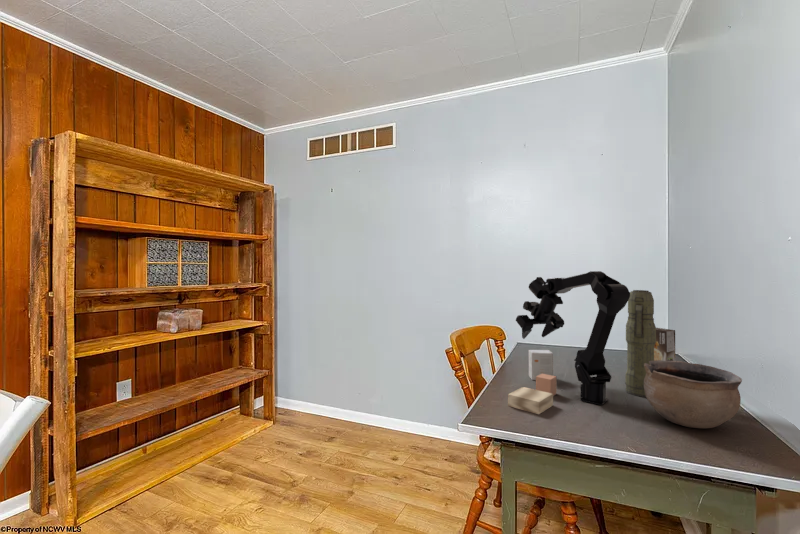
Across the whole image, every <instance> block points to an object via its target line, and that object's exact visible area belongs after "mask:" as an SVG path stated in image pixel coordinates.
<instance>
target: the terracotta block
mask: <svg viewBox="0 0 800 534" xmlns="http://www.w3.org/2000/svg"><path fill="white" fill-rule="evenodd" d="M535 390H539V391H543V392H548V393H552V394H553V397H554V396H556V395H557V376H556V375H553V376H552V375H547V374H540V375H538V376H536V380H535Z"/></svg>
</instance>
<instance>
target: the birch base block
mask: <svg viewBox="0 0 800 534" xmlns="http://www.w3.org/2000/svg"><path fill="white" fill-rule="evenodd" d="M507 406H508V407H511V408H514V409H517V410H522V411H525V412H528V413H533V414H537V415H540V414H541V413H543V412H545V411H546V410H548V409H549V408H551V407H552V406H554V396H553V394H552V393H548V392H543V391H539V390H536V388H535V389H534V388H530V387H524V386H521V387H520V388H518V389H516V390H513V391H512V392H510V393H507Z"/></svg>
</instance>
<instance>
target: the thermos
mask: <svg viewBox="0 0 800 534" xmlns="http://www.w3.org/2000/svg"><path fill="white" fill-rule="evenodd" d="M629 292H630V298H629V300H628V301H627V313H628V316H627V321H626V324H625V341H626V344H627V347H626V349H627V351H626V353H627V355H626V356H627V357H626V358H627V359H626V360H627V361H626V367H627V368H626V372H625V375H624V376H625V381H624V384H625V392H626V393H627V394H629V395H632V396H635V397H642V398H647V397H646V395H645V391H644V378H645V376H646V373H647V372H646V370H645V367H644V363H647V364H649V361H654V345H655V343H656V328H657V327H656V324H655V321H654V320H655V319H654V318H655V317H654V314H655V299H654V297H653V294H652V292H651V291H649V290H646V289H645V290H643V289H642V290H641V289H633V290H630V291H629ZM649 365H650V364H649Z"/></svg>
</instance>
